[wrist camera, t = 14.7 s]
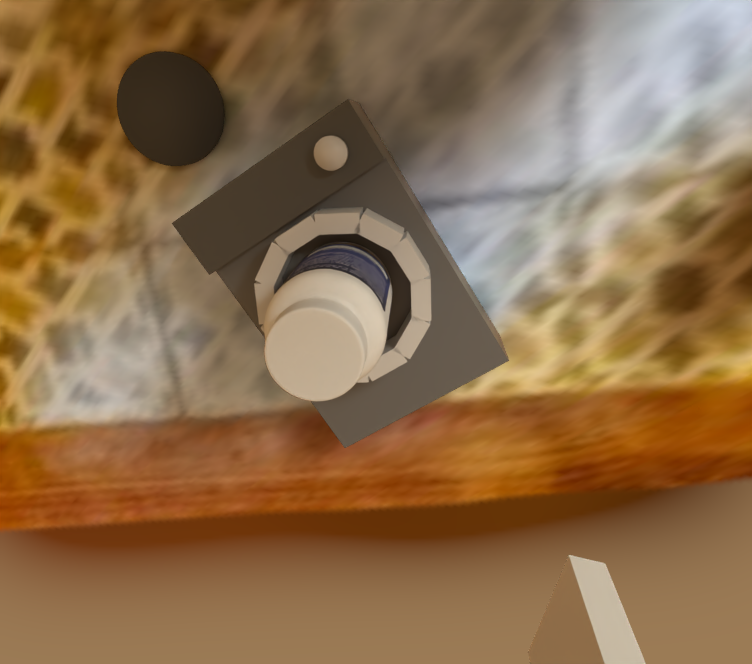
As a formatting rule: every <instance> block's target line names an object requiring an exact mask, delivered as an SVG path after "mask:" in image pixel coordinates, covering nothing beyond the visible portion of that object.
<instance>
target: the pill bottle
mask: <svg viewBox="0 0 752 664" xmlns="http://www.w3.org/2000/svg"><path fill="white" fill-rule="evenodd" d="M391 304H392V283H391V279H390V276H389V273H388V271H387V269H386V267H385V266H384V264H383V263H382V261H381V260H380V259H379V258H378V257H377V256H376V255H375V254H374V253H373V252H371V251H370V250H368V249H367V248H365V247H363V246H361V245H358V244H355V243H350V242H333V243H328V244H325V245H322V246H320V247H318V248H316V249H315V250H313V251H312V252H311V253H309V254H308V255H307V256H306V257H305V258H304V259H303V260H302V261H301V262H300V264H299V265H298V266H297V268H296V269H295V270H294V271H293V272H292V274H291V275H290V276H289V277H288V279H287V280H286V281H285V282H284V283H283V285H282V286H281V287H280V288H279V289H278V291H277V292H276V293H275V295H274V296H273V298H272V300H271V301H270V303H269V306H268V308H267V311H266V315H265V321H264V334H265V346H264V356H265V362H266V366H267V368H268V371H269V373H270V374H271V376H272V378H273V379H274V380H275V382H276V383H277V384H278V385H279V386H280V387H281V388H282V389H283V390H285V391H286V392H288V393H289V394H291V395H293V396H295V397H297V398H300V399H303V400H308V401H327V400H331V399H334V398H337V397H339V396H341V395H343V394H345V393H346V392H347V391H349V390H350V389H351V388H352V387H353V386H354V385H355V384H356V382H357V381H358V380H360V379H362V378H363V377H364V376H366V375H367V374H368V373H369V372H370V371H371V370H372V369H373V368H374V367H375V365H376V364H377V363H378V361H379V359H380V357H381V355H382V353H383V350H384V347H385V343H386V339H387V331H388V325H389V317H390V311H391Z"/></svg>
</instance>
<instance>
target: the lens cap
mask: <svg viewBox="0 0 752 664" xmlns="http://www.w3.org/2000/svg"><path fill="white" fill-rule="evenodd" d="M117 110H118V116H119V120H120V123H121V125H122V128H123V130H124V132H125V134H126V136H127V137H128V139H129V140H130V142H131V143H132V144H133V145H134V147H135V148H136V149H137V150H138V151H140V152H141V153H142V154H143V155H145V156H146V157H148V158H149V159H151V160H153V161H155V162H158V163H160V164H164V165H170V166H181V165H188V164H191V163H195V162H197V161H199V160H201V159H202V158H204V157H205V156H207V155H208V154H209V153H210V152H211V151H212V150H213V148H214V147H215V146H216V144H217V143H218V141H219V139H220V136H221V134H222V130H223V126H224V105H223V100H222V97H221V94H220V91H219V89H218V87H217V85H216V83H215V81H214V80H213V78H212V77H211V76H210V74H209V73H208V72H207V71H206V70H205V69H204V68H203V67H202V66H201V65H200V64H198V63H197V62H195V61H194V60H192V59H190V58H188V57H186V56H184V55H180V54H177V53H173V52H154V53H150V54H147V55H145V56H143V57H141V58H139V59H138V60H136V61H135V62H134V63H133V64H132V65H131V66H130V67H129V68H128V69H127V71H126V72H125V74H124V75H123V77H122V79H121V82H120V85H119V89H118V94H117Z"/></svg>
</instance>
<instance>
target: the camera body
mask: <svg viewBox="0 0 752 664" xmlns="http://www.w3.org/2000/svg"><path fill="white" fill-rule="evenodd" d="M172 224H173V226H174V227H175V228H176V230H177V231H178V232H179V234H180V235H181V237H182V238H183V239H184V241H185V242H186V243H187V245H188V246H189V248H190V249H191V250H192V252H193V253H194V254H195V256H196V257H197V258H198V260H199V261H200V263H201V264H202V265H203V267H204V268H205V269H206V271H207V272H208V273H209V275H210V274H211V273H213V272H214V271H216V272H217V273H218V274H219V276H220V277H221V278H222V280H223V281H224V283H225V284H226V285H227V287H228V288H229V289H230V291H231V292H232V294H233V295H234V296H235V298H236V299H237V300H238V302H239V303H240V305H241V306H242V307H243V309H244V310H245V311H246V313H247V314H248V316H249V317H250V318H251V320H252V321H253V322H254V324H255V325H256V327H257V328H258V329H259V331H260V332H261V333H262V335H263V336H264V338H265V334H264V321H265V315H266V311H267V308H268V306H269V303H270V301H271V300H272V298H273V296H274V295H275V293H276V292H277V291H278V289H279V288H280V287H281V286H282V285H283V283H284V282H285V281H286V280H287V279H288V277H289V276H290V275H291V274H292V272H293V271H294V270H295V269H296V268H297V266H298V265H299V264H300V262H301V261H302V260H303V259H304V258H305V257H306V256H307V255H308V254H309V253H311V252H312V251H313V250H315V249H316V248H318V247H320V246H322V245H325V244H328V243H333V242H350V243H355V244H358V245H361V246H363V247H365V248H367V249H368V250H370V251H371V252H373V253H374V254H375V255H376V256H377V257H378V258H379V259H380V260H381V261H382V263H383V264H384V266H385V267H386V269H387V271H388V273H389V276H390V279H391V283H392V304H391V311H390V317H389V325H388V331H387V339H386V343H385V347H384V350H383V353H382V355H381V357H380V359H379V361H378V363H377V364H376V365H375V367H374V368H373V369H372V370H371V371H370V372H369V373H368V374H367V375H366V376H364V377H363V378H362V379H360V380H358V381H357V382H356V384H355V385H354V386H353V387H352V388H351V389H350V390H349V391H347V392H346V393H345V394H343V395H341V396H339V397H337V398H334V399H331V400H327V401H311V402H312V404H313V405H314V406H315V408H316V409H317V410H318V412H319V413H320V415H321V416H322V417H323V419H324V420H325V421H326V423H327V424H328V426H329V427H330V428H331V430H332V431H333V432H334V434H335V435H336V437H337V438H338V439H339V441H340V442H341V443H342V445H343V446H344V448H346V447H348V446H350V445H352V444H354V443H355V442H357V441H359V440H361V439H363V438H365V437H367V436H369V435H370V434H372V433H374V432H376V431H378V430H380V429H382V428H384V427H385V426H387V425H389V424H391V423H393V422H395V421H397V420H399V419H400V418H402V417H404V416H406V415H408V414H410V413H412V412H414V411H415V410H417V409H419V408H421V407H423V406H425V405H427V404H428V403H430V402H432V401H434V400H436V399H438V398H440V397H442V396H443V395H445V394H447V393H449V392H451V391H453V390H455V389H457V388H458V387H460V386H462V385H464V384H466V383H468V382H470V381H472V380H473V379H475V378H477V377H479V376H481V375H483V374H485V373H487V372H488V371H490V370H492V369H494V368H496V367H498V366H500V365H502V364H503V363H505V362H507V361H509V359H508V356H507V354H506V351H505V348H504V345H503V343H502V340H501V337H500V335H499V333H498V332H497V330H496V328H495V327H494V325H493V323H492V322H491V320H490V318H489V317H488V315H487V314H486V312H485V310H484V309H483V307H482V305H481V304H480V302H479V300H478V299H477V297H476V295H475V294H474V292H473V290H472V289H471V287H470V285H469V284H468V282H467V281H466V279H465V277H464V276H463V274H462V272H461V271H460V269H459V267H458V266H457V264H456V262H455V261H454V259H453V257H452V256H451V254H450V252H449V251H448V249H447V248H446V246H445V244H444V243H443V241H442V239H441V238H440V236H439V234H438V233H437V231H436V229H435V228H434V226H433V224H432V223H431V221H430V219H429V218H428V216H427V215H426V213H425V211H424V210H423V208H422V206H421V205H420V203H419V201H418V200H417V198H416V196H415V195H414V193H413V191H412V190H411V188H410V186H409V185H408V183H407V182H406V180H405V178H404V177H403V175H402V173H401V172H400V170H399V168H398V167H397V165H396V163H395V162H394V160H393V158H392V157H391V155H390V153H389V152H388V150H387V148H386V147H385V145H384V144H383V142H382V140H381V139H380V137H379V135H378V134H377V132H376V130H375V129H374V127H373V125H372V124H371V122H370V120H369V119H368V117H367V115H366V114H365V112H364V111H363V109H362V107H361V106H360V104H359V103H358V102H355V101H352V100H349V99H348V100H346V101H345V102H343V103H342V104H341V105H339V106H338V107H336V108H335V109H333V110H332V111H331V112H329V113H328V114H326V115H325V116H324V117H322V118H321V119H319V120H318V121H316V122H315V123H314V124H312V125H311V126H309V127H308V128H306V129H305V130H304V131H302V132H301V133H299V134H298V135H297V136H295V137H294V138H292V139H291V140H289V141H288V142H287V143H285V144H284V145H282V146H281V147H279V148H278V149H277V150H275V151H274V152H272V153H271V154H270V155H268V156H267V157H265V158H264V159H262V160H261V161H260V162H258V163H257V164H255V165H254V166H252V167H251V168H250V169H248V170H247V171H245V172H244V173H243V174H241V175H240V176H238V177H237V178H235V179H234V180H233V181H231V182H230V183H228V184H227V185H225V186H224V187H223V188H221V189H220V190H218V191H217V192H216V193H214V194H213V195H211V196H210V197H208V198H207V199H206V200H204V201H203V202H201V203H200V204H198V205H197V206H196V207H194V208H193V209H191V210H190V211H189V212H187V213H186V214H184V215H183V216H181V217H180V218H179V219H177V220H176V221H174V222H173V223H172Z"/></svg>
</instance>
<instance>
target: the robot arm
mask: <svg viewBox="0 0 752 664" xmlns="http://www.w3.org/2000/svg"><path fill="white" fill-rule="evenodd" d="M528 654H529V660H530V664H646V663H645V661H644V659H643V656H642V654H641V651H640V649H639V646H638V644H637V641H636V639H635V636H634V634H633V631H632V629H631V626H630V624H629V621H628V619H627V616H626V614H625V611H624V609H623V607H622V604H621V602H620V599H619V597H618V594H617V592H616V589H615V587H614V584H613V582H612V579H611V577H610V574H609V572H608V570H607V567H606V565H605V563H601V562H597V561H593V560H588V559H584V558H580V557H575V556H571V555H569V556H568V558H567V560H566V563H565V565H564V568H563V570H562V572H561V575H560V577H559V580H558V582H557V584H556V587H555V589H554V592H553V594H552V596H551V599H550V601H549V604H548V606H547V608H546V611H545V613H544V615H543V618H542V620H541V623H540V625H539V627H538V630H537V632H536V634H535V637H534V639H533V642H532V644H531V646H530V649H529V651H528Z"/></svg>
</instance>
